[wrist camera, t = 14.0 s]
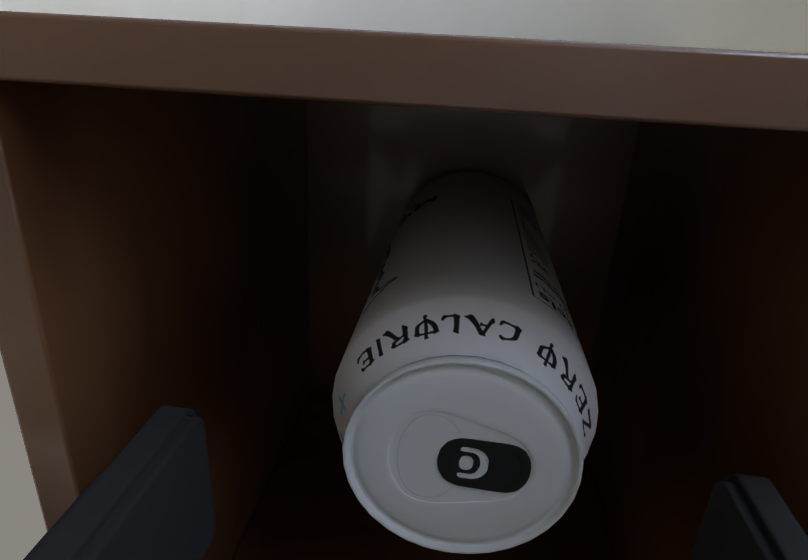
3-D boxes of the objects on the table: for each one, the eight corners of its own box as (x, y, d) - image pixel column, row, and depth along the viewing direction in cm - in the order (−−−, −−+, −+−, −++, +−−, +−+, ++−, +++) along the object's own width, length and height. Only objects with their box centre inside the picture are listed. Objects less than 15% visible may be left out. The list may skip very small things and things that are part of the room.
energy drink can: (406, 159, 24) (317, 311, 10) (549, 175, 24) (651, 355, 10) (394, 288, 27) (309, 550, 13) (525, 304, 26) (580, 594, 12)
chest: (290, 30, 24) (-92, 6, 8) (671, 50, 22) (1158, 72, 6) (299, 392, 31) (108, 773, 15) (590, 424, 29) (729, 881, 13)
